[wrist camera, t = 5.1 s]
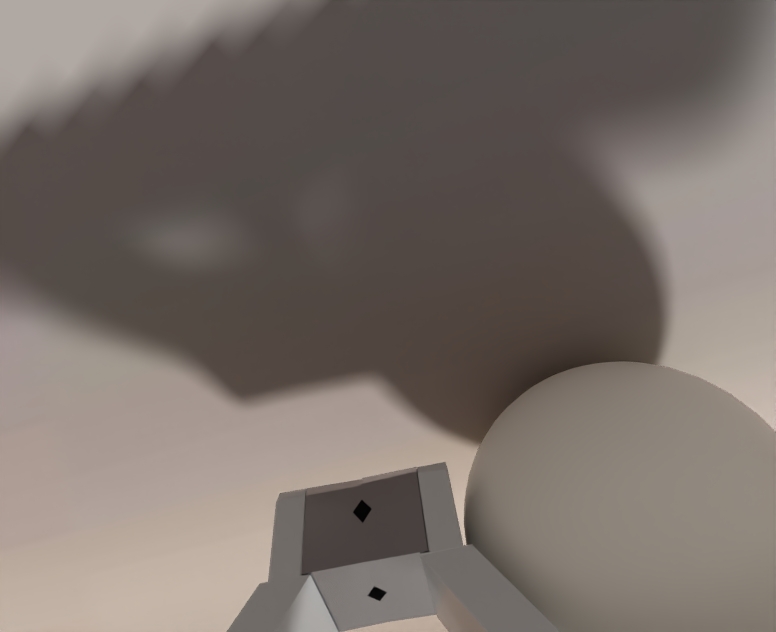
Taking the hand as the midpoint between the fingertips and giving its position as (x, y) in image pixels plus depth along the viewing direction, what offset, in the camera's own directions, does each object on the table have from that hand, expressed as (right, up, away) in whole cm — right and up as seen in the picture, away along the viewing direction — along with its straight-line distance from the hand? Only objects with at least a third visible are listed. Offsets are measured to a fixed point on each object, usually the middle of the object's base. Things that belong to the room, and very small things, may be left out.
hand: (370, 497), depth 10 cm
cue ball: (+4, 0, 0) cm, 4 cm away
